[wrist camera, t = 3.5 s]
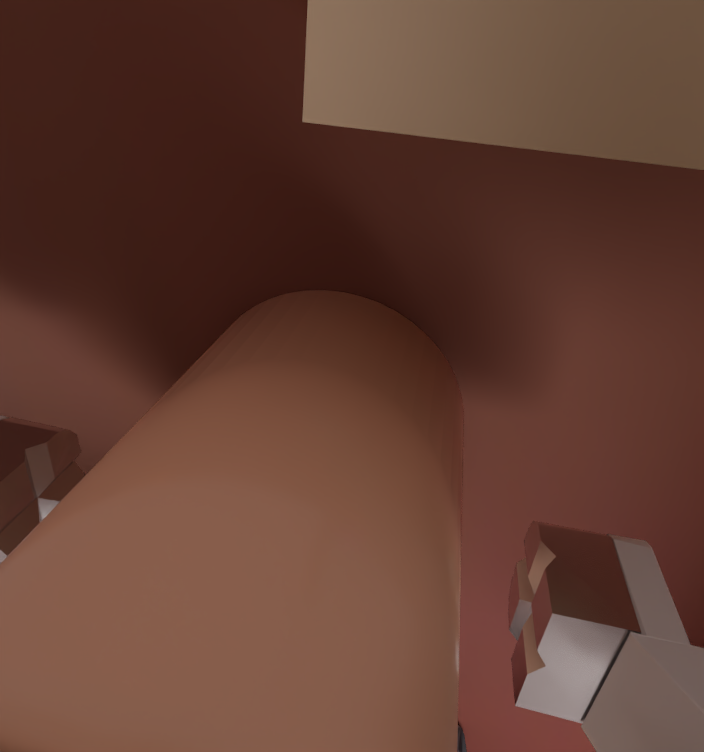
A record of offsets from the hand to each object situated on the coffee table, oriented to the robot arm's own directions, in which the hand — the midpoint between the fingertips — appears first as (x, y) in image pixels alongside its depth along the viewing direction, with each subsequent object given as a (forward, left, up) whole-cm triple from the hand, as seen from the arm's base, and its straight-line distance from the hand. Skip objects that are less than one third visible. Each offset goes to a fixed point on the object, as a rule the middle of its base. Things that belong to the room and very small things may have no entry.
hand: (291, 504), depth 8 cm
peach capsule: (0, 0, -2) cm, 3 cm away
